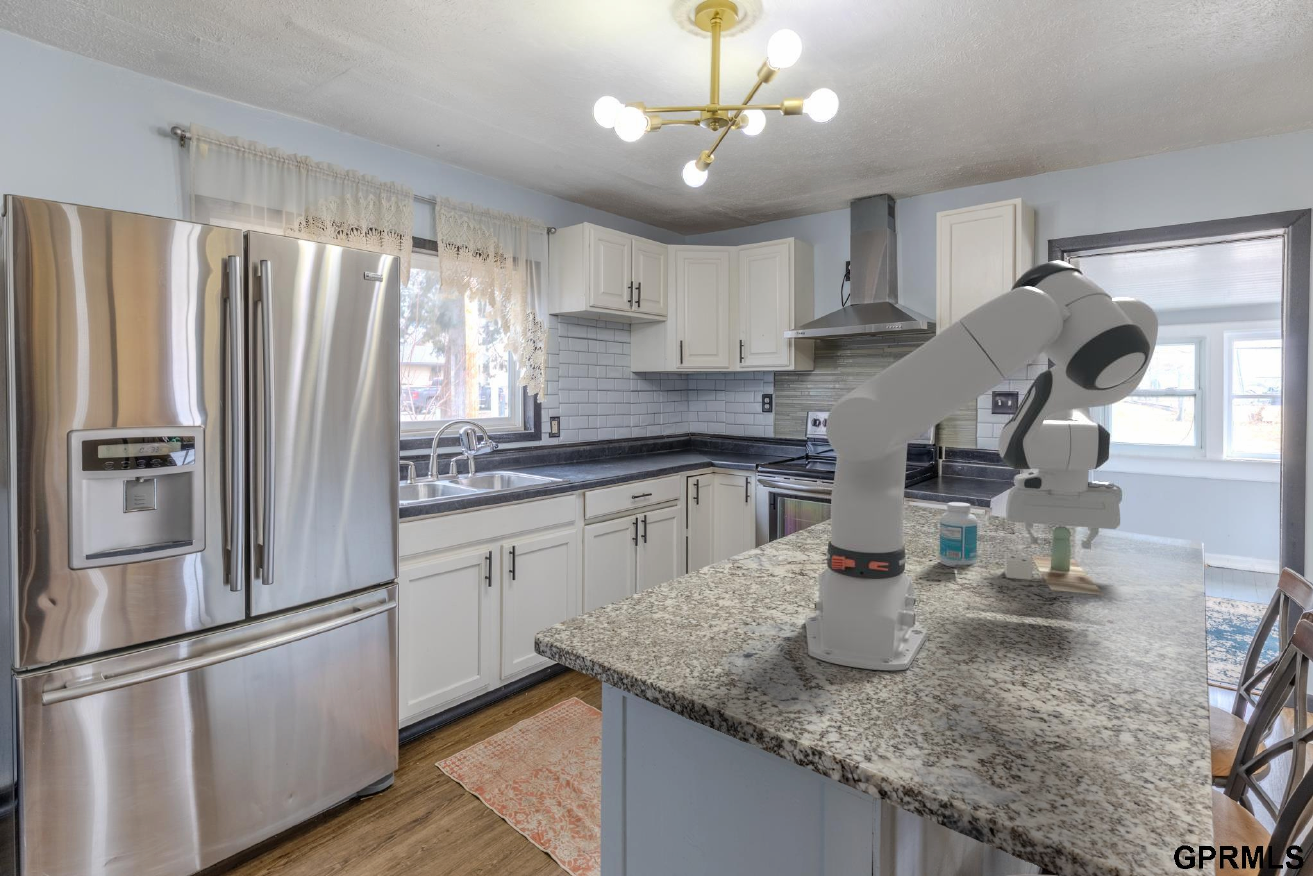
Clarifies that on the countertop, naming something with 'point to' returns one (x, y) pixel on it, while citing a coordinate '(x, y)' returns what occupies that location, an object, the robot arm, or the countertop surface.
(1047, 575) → the board
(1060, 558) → the green bottle
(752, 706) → the countertop surface
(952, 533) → the pill bottle
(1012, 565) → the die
